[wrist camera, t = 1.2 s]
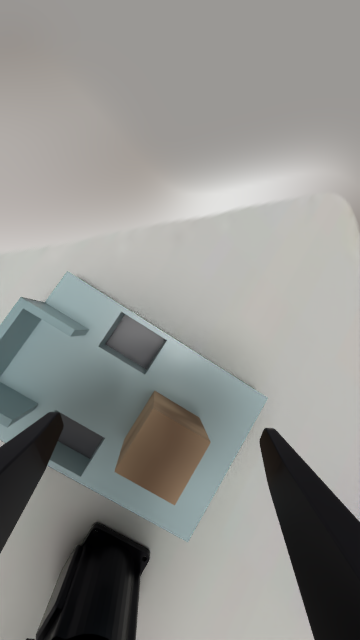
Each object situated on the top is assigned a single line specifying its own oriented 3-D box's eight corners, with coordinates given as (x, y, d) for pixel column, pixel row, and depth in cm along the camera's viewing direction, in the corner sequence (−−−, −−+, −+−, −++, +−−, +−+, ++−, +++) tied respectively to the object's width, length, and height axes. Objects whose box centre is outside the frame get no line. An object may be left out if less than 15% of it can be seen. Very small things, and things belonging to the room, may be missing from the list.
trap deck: (255, 389, 22) (288, 410, 16) (184, 515, 20) (193, 585, 15) (78, 278, 20) (48, 259, 14) (-13, 406, 18) (-84, 439, 13)
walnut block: (199, 417, 18) (210, 442, 14) (171, 465, 18) (174, 505, 14) (154, 390, 18) (153, 408, 14) (124, 438, 17) (114, 471, 13)
